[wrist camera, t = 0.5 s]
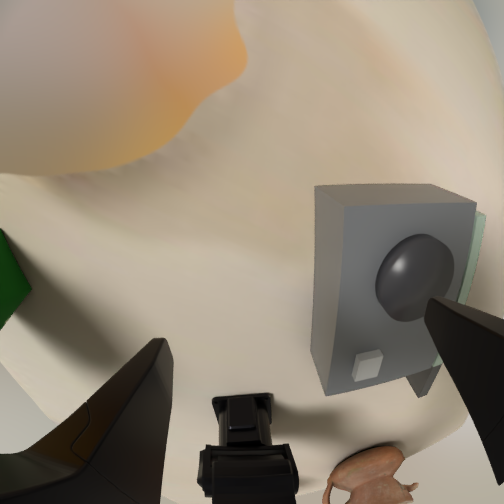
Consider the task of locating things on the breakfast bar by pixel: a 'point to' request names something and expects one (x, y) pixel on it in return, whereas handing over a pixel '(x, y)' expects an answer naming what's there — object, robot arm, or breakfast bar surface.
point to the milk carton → (10, 283)
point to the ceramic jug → (371, 478)
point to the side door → (425, 378)
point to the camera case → (382, 278)
